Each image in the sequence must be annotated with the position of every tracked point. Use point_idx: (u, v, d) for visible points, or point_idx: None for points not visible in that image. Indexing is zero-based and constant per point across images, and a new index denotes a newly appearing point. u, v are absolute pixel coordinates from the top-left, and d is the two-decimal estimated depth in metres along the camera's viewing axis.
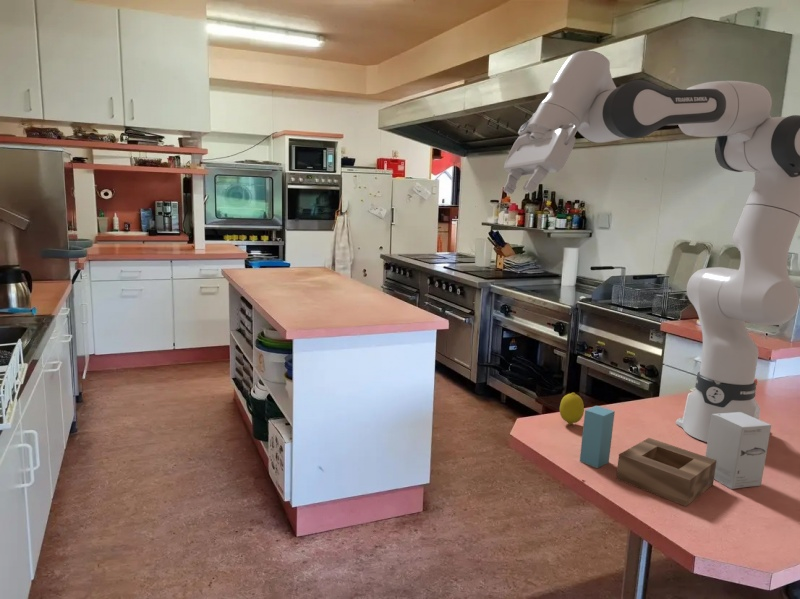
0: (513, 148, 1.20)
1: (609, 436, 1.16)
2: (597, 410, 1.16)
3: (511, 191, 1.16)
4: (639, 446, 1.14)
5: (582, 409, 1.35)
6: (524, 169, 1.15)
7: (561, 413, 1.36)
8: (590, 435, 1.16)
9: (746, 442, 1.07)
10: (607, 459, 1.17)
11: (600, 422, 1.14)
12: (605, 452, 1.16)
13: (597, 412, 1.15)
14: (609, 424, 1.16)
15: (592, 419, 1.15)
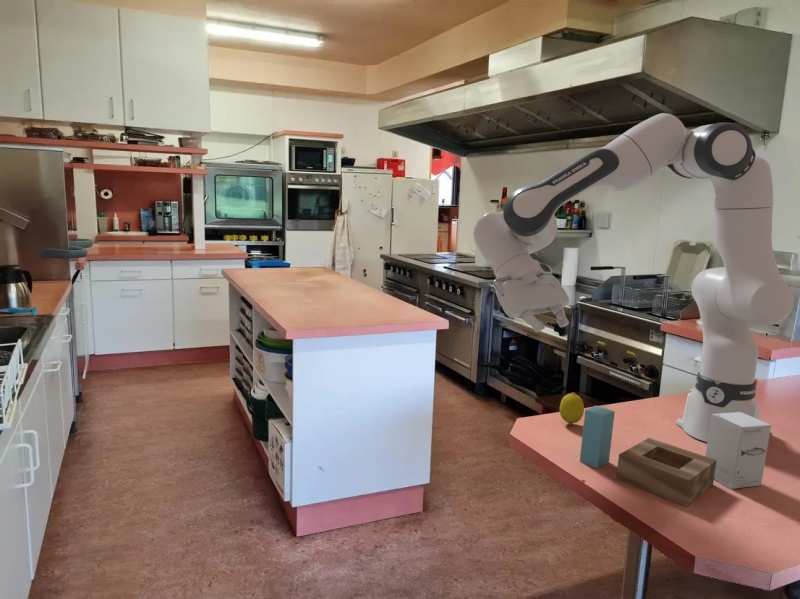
0: None
1: (609, 436, 1.16)
2: (597, 410, 1.16)
3: (563, 323, 1.25)
4: (639, 446, 1.14)
5: (582, 409, 1.35)
6: None
7: (561, 413, 1.36)
8: (590, 435, 1.16)
9: (746, 442, 1.07)
10: (607, 459, 1.17)
11: (600, 422, 1.14)
12: (605, 452, 1.16)
13: (597, 412, 1.15)
14: (609, 424, 1.16)
15: (593, 419, 1.15)
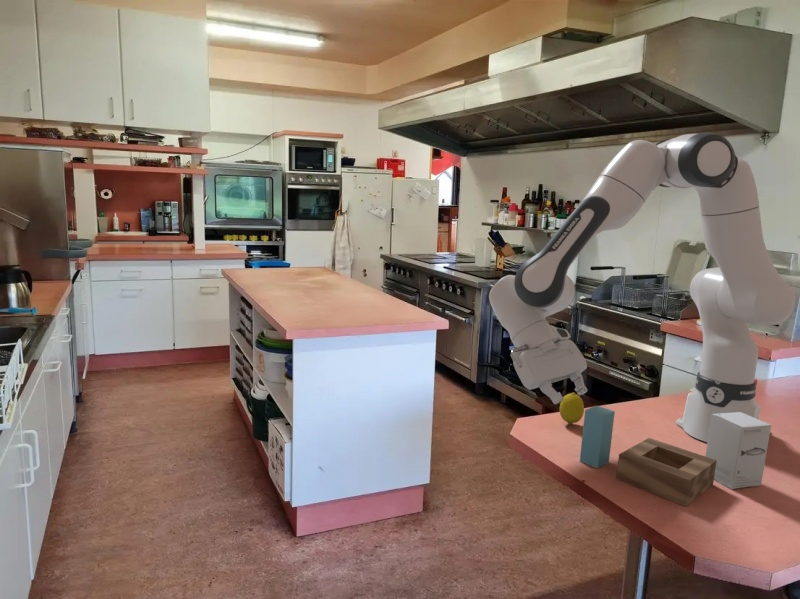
0: None
1: (609, 436, 1.16)
2: (597, 410, 1.16)
3: (582, 391, 1.23)
4: (639, 446, 1.14)
5: (582, 409, 1.35)
6: None
7: (561, 413, 1.36)
8: (590, 435, 1.16)
9: (746, 442, 1.07)
10: (607, 459, 1.17)
11: (600, 422, 1.14)
12: (605, 452, 1.16)
13: (597, 412, 1.15)
14: (609, 424, 1.16)
15: (592, 419, 1.15)
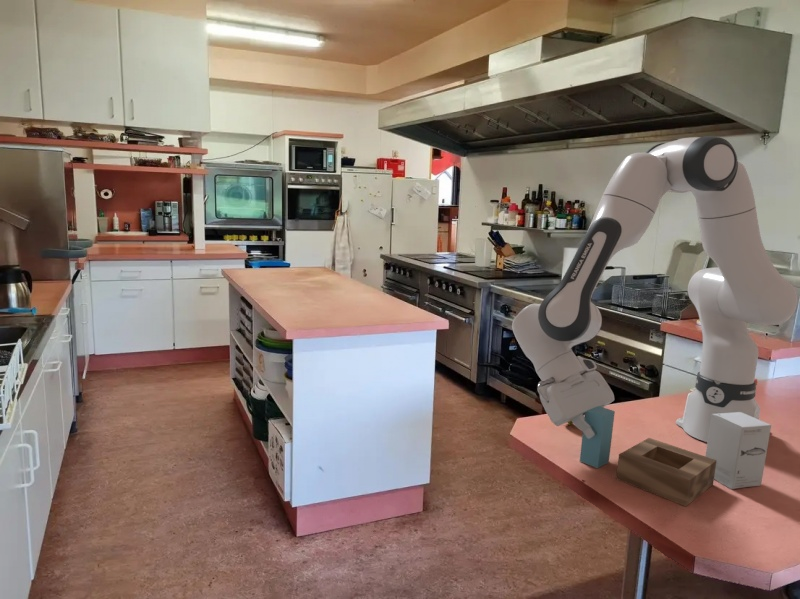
0: None
1: (609, 436, 1.16)
2: (597, 410, 1.16)
3: None
4: (639, 446, 1.14)
5: None
6: None
7: None
8: None
9: (746, 442, 1.07)
10: (607, 459, 1.17)
11: (600, 422, 1.14)
12: (605, 452, 1.16)
13: (597, 412, 1.15)
14: (609, 424, 1.16)
15: (593, 419, 1.15)
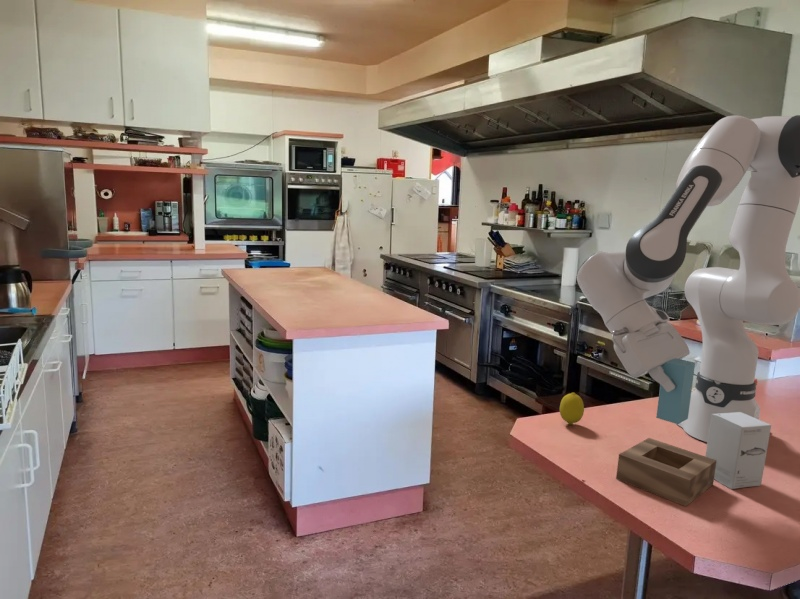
0: None
1: (689, 389, 1.07)
2: (676, 362, 1.07)
3: None
4: (639, 446, 1.14)
5: (582, 409, 1.35)
6: None
7: (561, 413, 1.36)
8: None
9: (746, 442, 1.07)
10: (686, 415, 1.08)
11: (681, 373, 1.05)
12: (685, 407, 1.07)
13: (676, 363, 1.06)
14: (690, 377, 1.06)
15: (672, 371, 1.06)
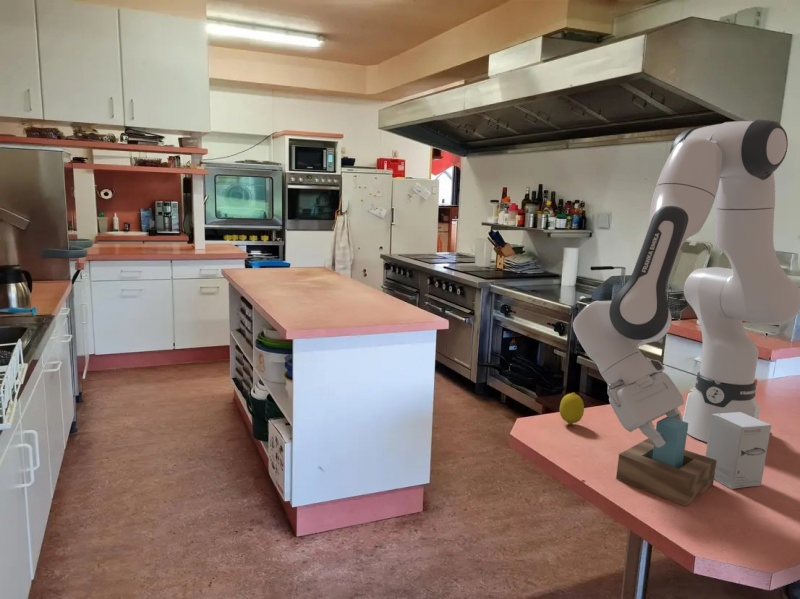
0: None
1: (682, 449, 1.09)
2: (670, 422, 1.09)
3: None
4: (639, 446, 1.14)
5: (582, 409, 1.35)
6: None
7: (561, 413, 1.36)
8: (662, 448, 1.08)
9: (746, 442, 1.07)
10: None
11: (674, 435, 1.06)
12: (678, 466, 1.09)
13: (670, 424, 1.07)
14: (683, 437, 1.08)
15: (666, 432, 1.07)
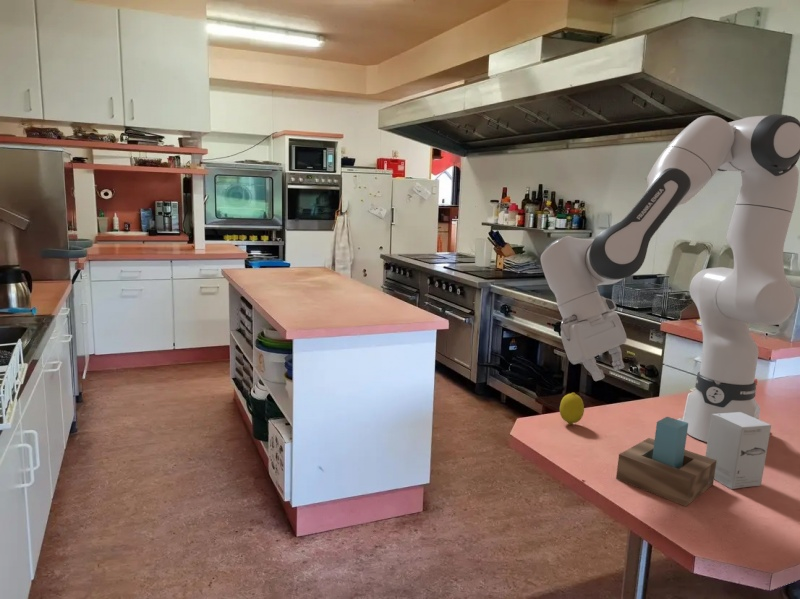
0: None
1: (682, 449, 1.09)
2: (670, 422, 1.09)
3: (619, 367, 1.21)
4: (639, 446, 1.14)
5: (582, 409, 1.35)
6: None
7: (561, 413, 1.36)
8: (662, 448, 1.08)
9: (746, 442, 1.07)
10: None
11: (674, 435, 1.06)
12: (678, 466, 1.09)
13: (670, 424, 1.07)
14: (683, 437, 1.08)
15: (666, 432, 1.07)
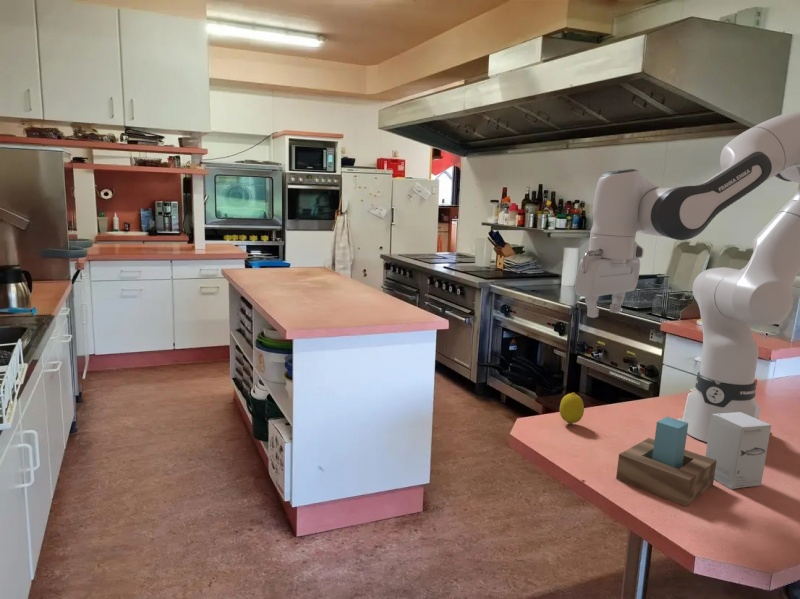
0: None
1: (682, 449, 1.09)
2: (670, 422, 1.09)
3: (615, 311, 1.24)
4: (639, 446, 1.14)
5: (582, 409, 1.35)
6: None
7: (561, 413, 1.36)
8: (662, 448, 1.08)
9: (746, 442, 1.07)
10: None
11: (674, 435, 1.06)
12: (678, 466, 1.09)
13: (670, 424, 1.07)
14: (683, 437, 1.08)
15: (666, 432, 1.07)
